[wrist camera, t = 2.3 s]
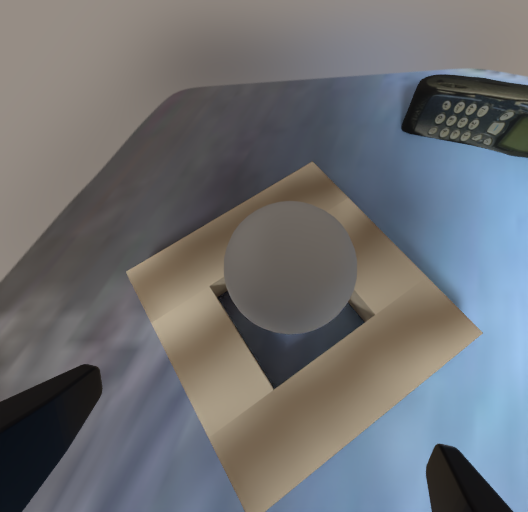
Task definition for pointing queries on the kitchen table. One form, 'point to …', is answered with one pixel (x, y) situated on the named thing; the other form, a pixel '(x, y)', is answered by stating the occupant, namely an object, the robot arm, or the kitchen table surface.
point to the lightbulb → (290, 267)
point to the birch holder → (315, 373)
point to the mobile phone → (471, 112)
